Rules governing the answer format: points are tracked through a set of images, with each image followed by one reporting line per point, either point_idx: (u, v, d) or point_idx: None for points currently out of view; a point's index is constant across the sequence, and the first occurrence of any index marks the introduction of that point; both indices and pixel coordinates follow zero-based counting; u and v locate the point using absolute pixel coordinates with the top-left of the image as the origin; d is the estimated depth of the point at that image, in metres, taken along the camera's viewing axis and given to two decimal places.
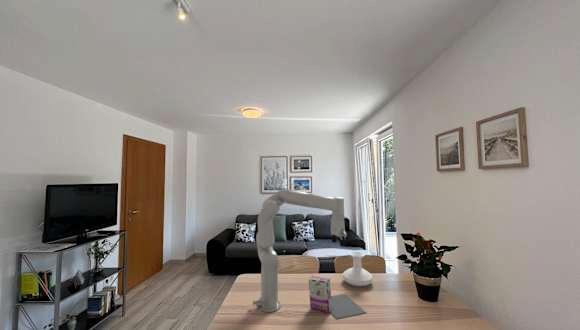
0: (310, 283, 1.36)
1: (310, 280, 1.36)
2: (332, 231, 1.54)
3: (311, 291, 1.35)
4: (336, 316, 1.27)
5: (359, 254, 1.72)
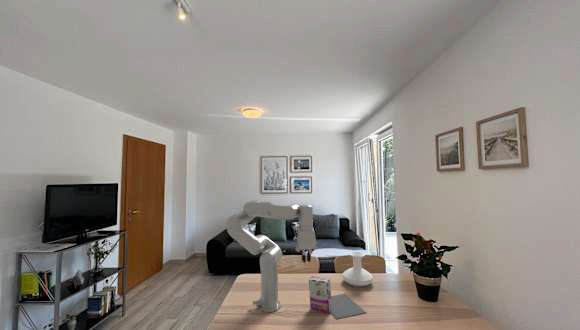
0: (310, 283, 1.36)
1: (310, 280, 1.36)
2: (304, 246, 1.31)
3: (311, 291, 1.35)
4: (336, 316, 1.27)
5: (359, 254, 1.72)
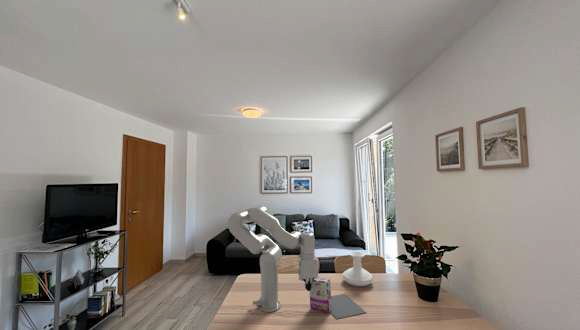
0: None
1: None
2: (306, 275, 1.30)
3: (311, 291, 1.35)
4: (336, 316, 1.27)
5: (359, 254, 1.72)
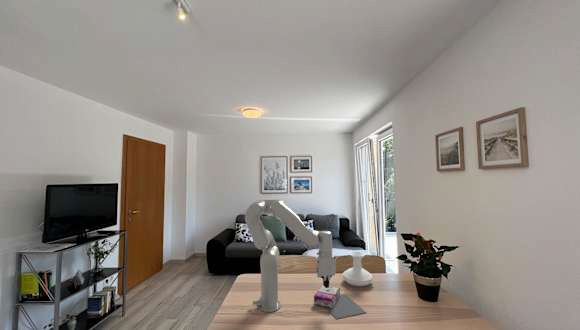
0: (323, 286, 1.52)
1: None
2: (324, 273, 1.34)
3: (321, 289, 1.48)
4: (336, 316, 1.27)
5: (359, 254, 1.72)
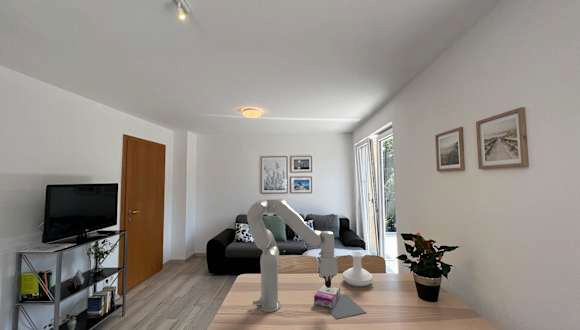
0: (323, 286, 1.52)
1: (324, 285, 1.53)
2: (326, 273, 1.34)
3: (321, 289, 1.48)
4: (336, 316, 1.27)
5: (359, 254, 1.72)
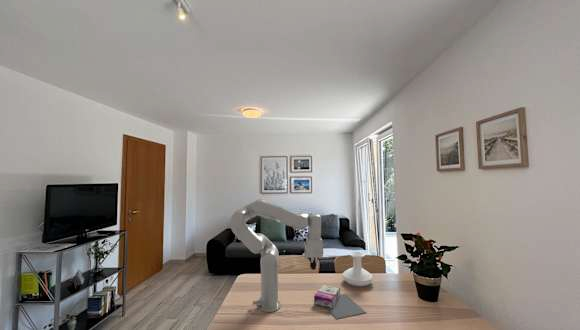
0: (323, 286, 1.52)
1: (324, 285, 1.53)
2: (311, 254, 1.36)
3: (321, 289, 1.48)
4: (336, 316, 1.27)
5: (359, 254, 1.72)
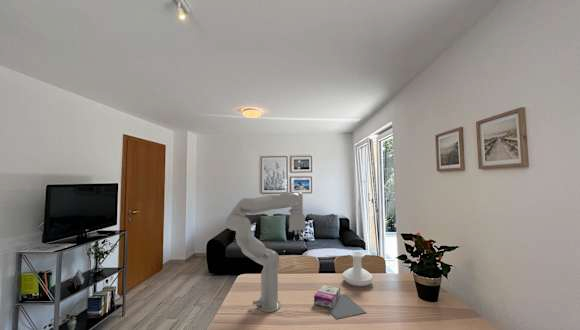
0: (323, 286, 1.52)
1: (324, 285, 1.53)
2: (294, 227, 1.52)
3: (321, 289, 1.48)
4: (336, 316, 1.27)
5: (359, 254, 1.72)
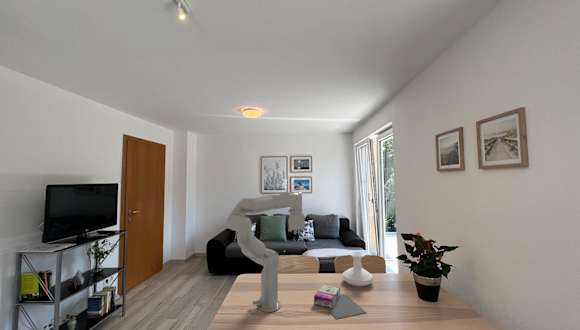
0: (323, 286, 1.52)
1: (324, 285, 1.53)
2: (294, 227, 1.52)
3: (321, 289, 1.48)
4: (336, 316, 1.27)
5: (359, 254, 1.72)
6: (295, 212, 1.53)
